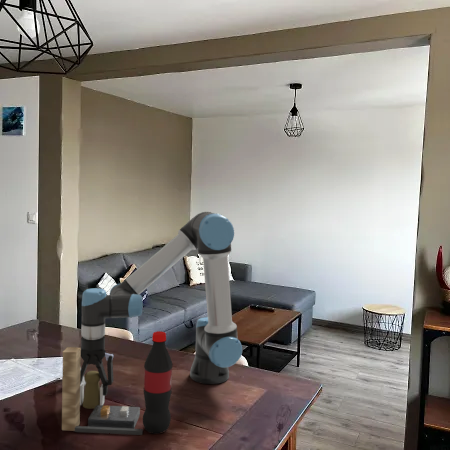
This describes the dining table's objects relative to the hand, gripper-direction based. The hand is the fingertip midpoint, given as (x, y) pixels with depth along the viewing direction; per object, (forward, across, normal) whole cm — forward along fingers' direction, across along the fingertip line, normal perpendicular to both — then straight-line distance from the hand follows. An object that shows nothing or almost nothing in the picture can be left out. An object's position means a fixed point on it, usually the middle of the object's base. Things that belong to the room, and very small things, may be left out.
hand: (91, 403), depth 157 cm
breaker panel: (0, -10, +10) cm, 14 cm away
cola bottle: (0, -24, +14) cm, 27 cm away
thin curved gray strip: (0, -10, +17) cm, 20 cm away
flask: (+1, +10, -14) cm, 17 cm away
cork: (0, 0, 0) cm, 0 cm away
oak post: (0, +2, +15) cm, 15 cm away
